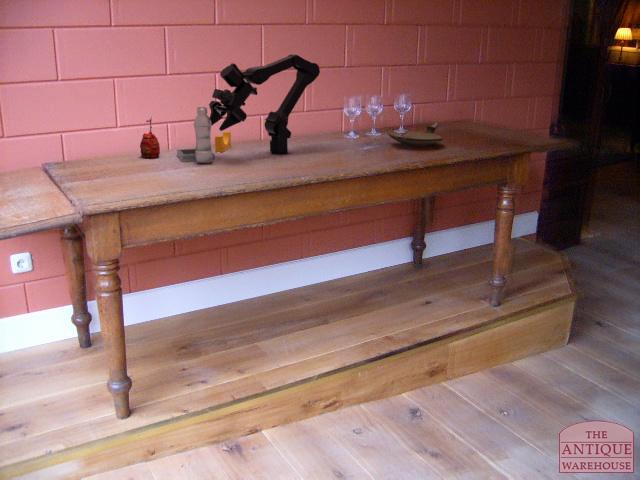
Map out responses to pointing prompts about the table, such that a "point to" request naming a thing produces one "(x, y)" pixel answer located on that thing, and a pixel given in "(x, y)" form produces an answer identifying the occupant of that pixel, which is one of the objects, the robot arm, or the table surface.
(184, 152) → the tray
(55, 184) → the table surface
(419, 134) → the oil lamp
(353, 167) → the table surface
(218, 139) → the orange stepped block
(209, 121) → the plastic bottle
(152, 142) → the red clay folk toy
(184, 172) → the table surface
